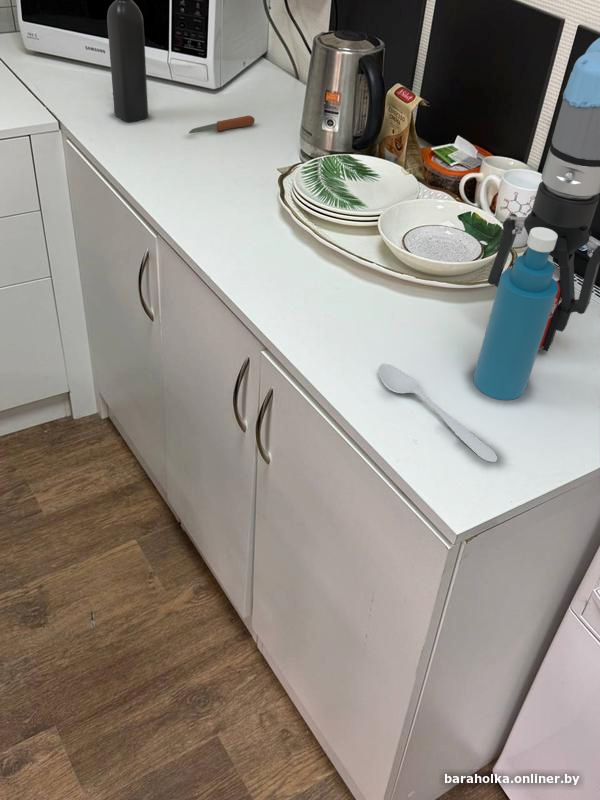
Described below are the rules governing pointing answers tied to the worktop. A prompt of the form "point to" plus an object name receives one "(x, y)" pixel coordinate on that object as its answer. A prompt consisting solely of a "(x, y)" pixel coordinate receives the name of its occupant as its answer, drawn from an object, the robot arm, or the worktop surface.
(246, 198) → the worktop surface
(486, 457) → the spoon
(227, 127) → the kitchen knife
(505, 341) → the water bottle
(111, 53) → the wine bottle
